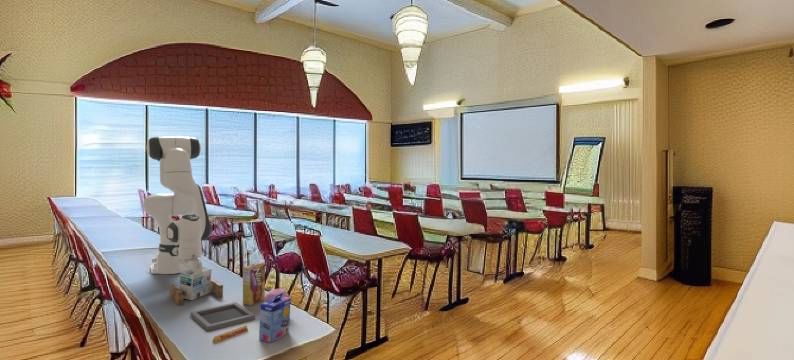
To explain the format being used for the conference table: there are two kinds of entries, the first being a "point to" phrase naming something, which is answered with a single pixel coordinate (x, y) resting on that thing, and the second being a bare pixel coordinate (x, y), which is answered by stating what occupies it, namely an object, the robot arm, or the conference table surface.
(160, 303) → the conference table surface
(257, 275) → the candy box
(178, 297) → the wooden blocks
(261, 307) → the ink cartridge box
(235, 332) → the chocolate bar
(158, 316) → the conference table surface
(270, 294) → the cupcake
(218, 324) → the grey shallow rectangular tray
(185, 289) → the light bulb box
